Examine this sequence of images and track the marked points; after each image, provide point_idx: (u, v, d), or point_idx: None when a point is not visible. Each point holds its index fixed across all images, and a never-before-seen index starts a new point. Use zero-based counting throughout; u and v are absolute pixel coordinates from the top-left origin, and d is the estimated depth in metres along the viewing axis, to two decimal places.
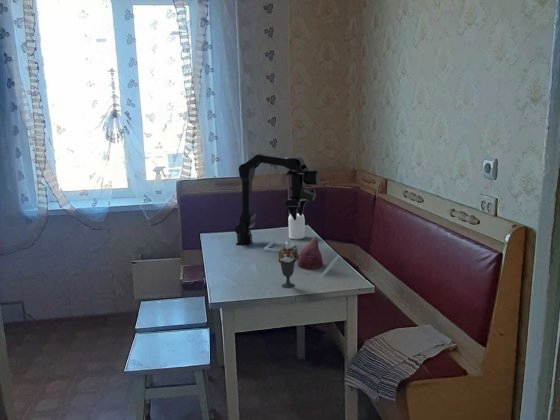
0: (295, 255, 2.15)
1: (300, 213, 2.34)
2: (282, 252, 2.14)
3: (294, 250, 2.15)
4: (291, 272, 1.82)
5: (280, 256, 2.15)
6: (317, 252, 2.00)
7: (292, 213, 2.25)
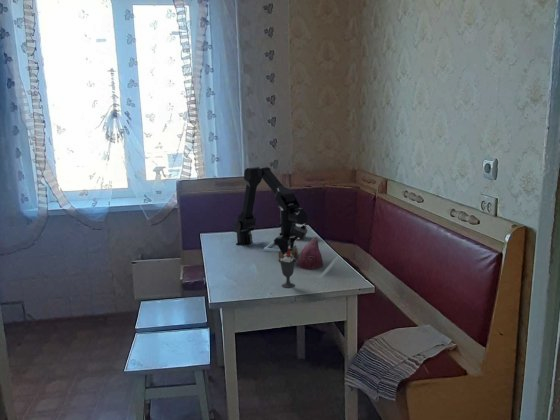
0: (295, 255, 2.15)
1: None
2: None
3: (294, 250, 2.15)
4: (291, 272, 1.82)
5: (280, 256, 2.15)
6: (317, 252, 2.00)
7: (283, 251, 2.13)
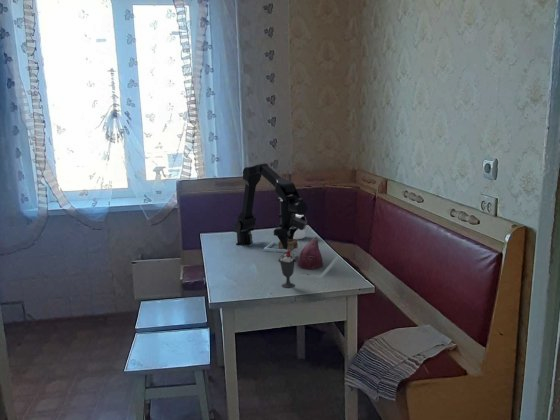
0: (295, 246, 2.14)
1: None
2: None
3: (294, 241, 2.14)
4: (291, 272, 1.82)
5: (280, 247, 2.14)
6: (317, 252, 2.00)
7: (282, 242, 2.12)
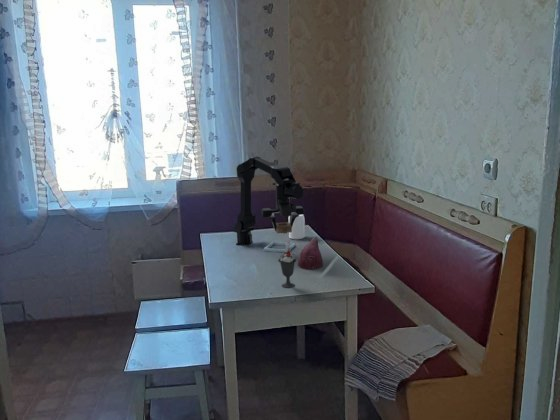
0: (282, 231, 2.17)
1: None
2: None
3: (283, 226, 2.17)
4: (291, 272, 1.82)
5: None
6: (317, 252, 2.00)
7: (272, 223, 2.20)
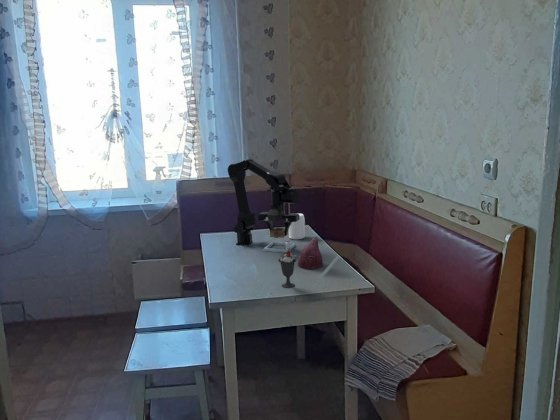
0: None
1: None
2: None
3: (275, 230, 2.26)
4: (291, 272, 1.82)
5: None
6: (317, 252, 2.00)
7: None
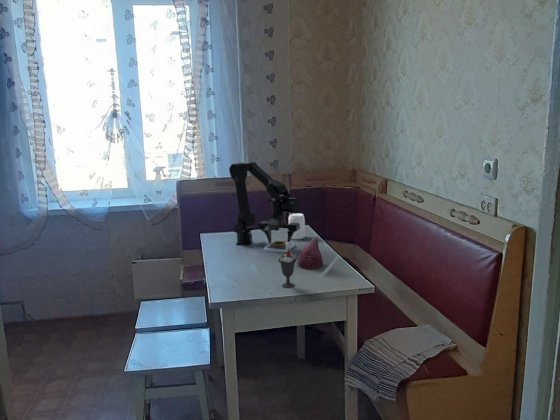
0: None
1: None
2: None
3: (276, 244, 2.27)
4: (291, 272, 1.82)
5: None
6: (317, 252, 2.00)
7: None
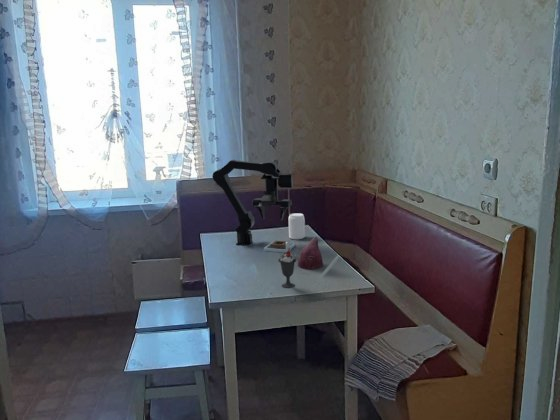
0: None
1: None
2: None
3: (276, 244, 2.27)
4: (291, 272, 1.82)
5: None
6: (317, 252, 2.00)
7: None
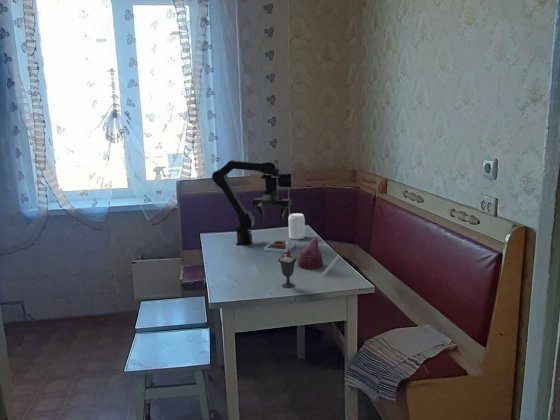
0: None
1: None
2: None
3: (276, 244, 2.27)
4: (291, 272, 1.82)
5: None
6: (317, 252, 2.00)
7: None
